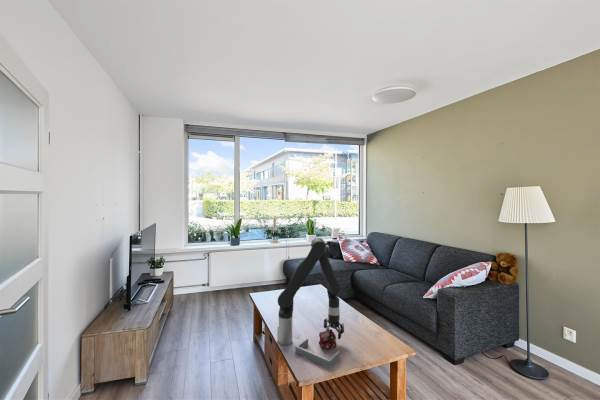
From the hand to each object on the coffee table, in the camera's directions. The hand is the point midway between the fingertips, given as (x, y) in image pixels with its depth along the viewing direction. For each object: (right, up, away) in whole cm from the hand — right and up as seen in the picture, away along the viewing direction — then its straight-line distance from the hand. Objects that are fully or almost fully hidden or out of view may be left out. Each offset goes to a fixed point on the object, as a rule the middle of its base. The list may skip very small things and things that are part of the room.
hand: (333, 336), depth 184 cm
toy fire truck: (-4, -4, -6) cm, 8 cm away
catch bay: (-12, -3, -16) cm, 20 cm away
